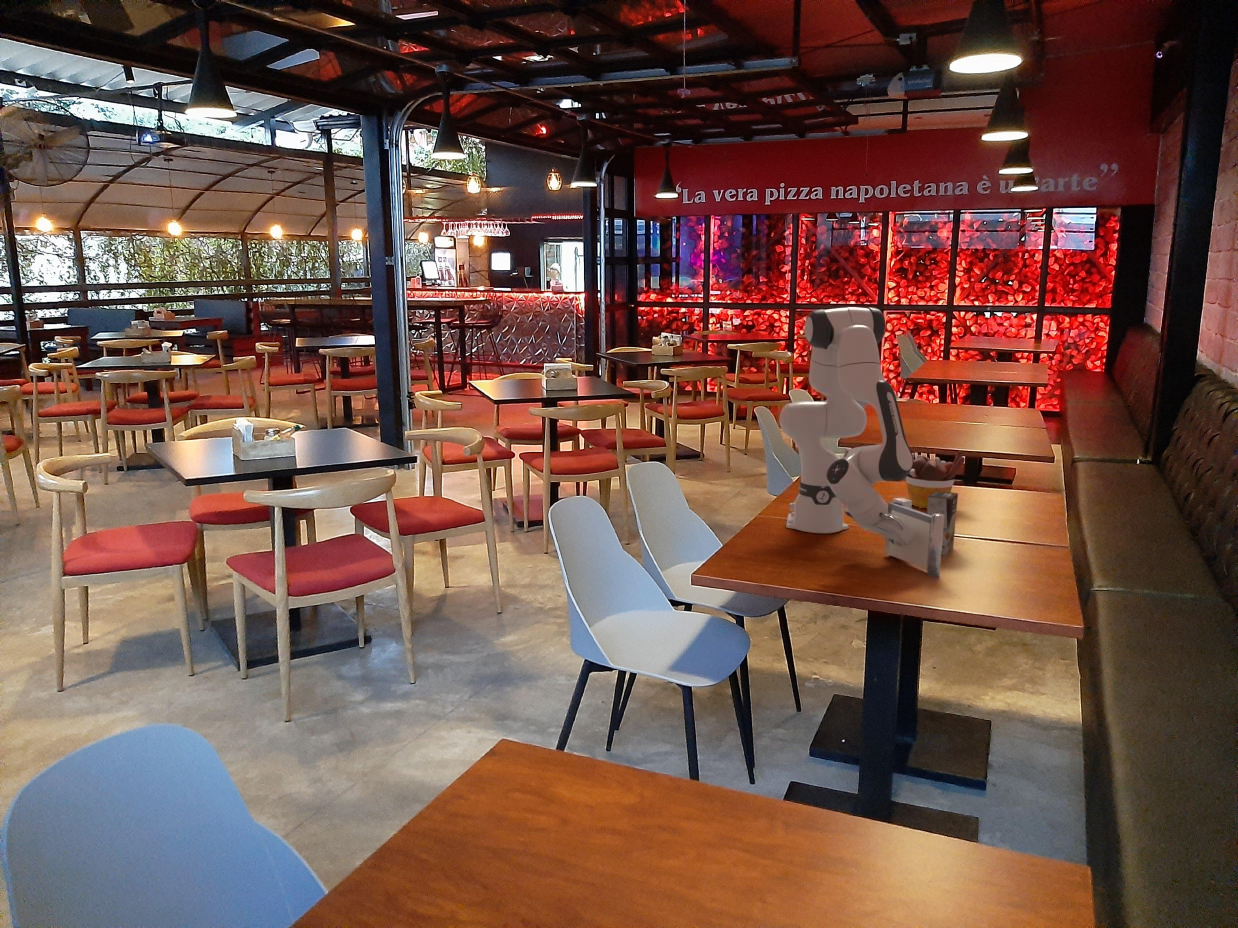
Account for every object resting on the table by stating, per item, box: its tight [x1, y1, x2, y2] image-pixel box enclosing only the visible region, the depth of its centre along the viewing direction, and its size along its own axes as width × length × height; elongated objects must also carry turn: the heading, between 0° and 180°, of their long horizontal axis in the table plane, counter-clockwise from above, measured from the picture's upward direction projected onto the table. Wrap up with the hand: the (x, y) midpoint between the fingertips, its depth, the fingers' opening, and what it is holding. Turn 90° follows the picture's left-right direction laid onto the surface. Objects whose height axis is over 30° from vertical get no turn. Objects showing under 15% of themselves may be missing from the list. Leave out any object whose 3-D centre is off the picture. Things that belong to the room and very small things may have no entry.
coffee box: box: [926, 491, 959, 556], centre depth 252 cm, size 9×6×16 cm
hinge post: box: [926, 513, 944, 578], centre depth 229 cm, size 3×3×16 cm
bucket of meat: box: [905, 450, 966, 510], centre depth 304 cm, size 20×16×20 cm
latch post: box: [888, 497, 913, 560], centre depth 245 cm, size 4×3×16 cm
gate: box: [884, 501, 932, 571], centre depth 238 cm, size 17×2×14 cm, turn 21°
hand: (897, 543), depth 241 cm, fingers closed, pressing on gate
